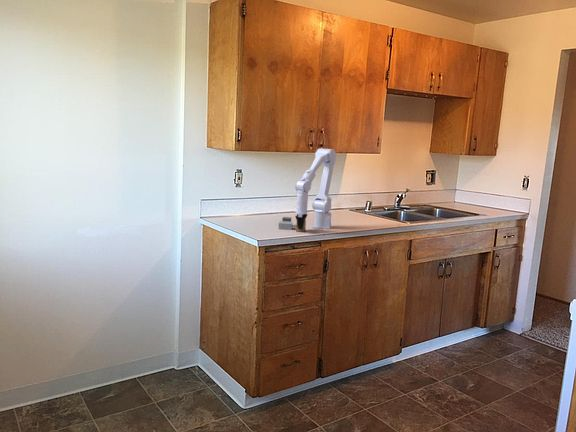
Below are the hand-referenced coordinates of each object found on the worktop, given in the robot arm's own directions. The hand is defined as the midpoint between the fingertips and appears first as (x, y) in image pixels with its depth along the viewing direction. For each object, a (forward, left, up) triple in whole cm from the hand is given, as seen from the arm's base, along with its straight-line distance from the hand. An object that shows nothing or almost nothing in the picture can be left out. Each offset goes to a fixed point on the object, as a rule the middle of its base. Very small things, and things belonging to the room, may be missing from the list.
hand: (300, 228), depth 263 cm
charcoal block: (+9, -13, -2) cm, 16 cm away
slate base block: (+9, -5, -2) cm, 10 cm away
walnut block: (0, 0, -1) cm, 1 cm away
